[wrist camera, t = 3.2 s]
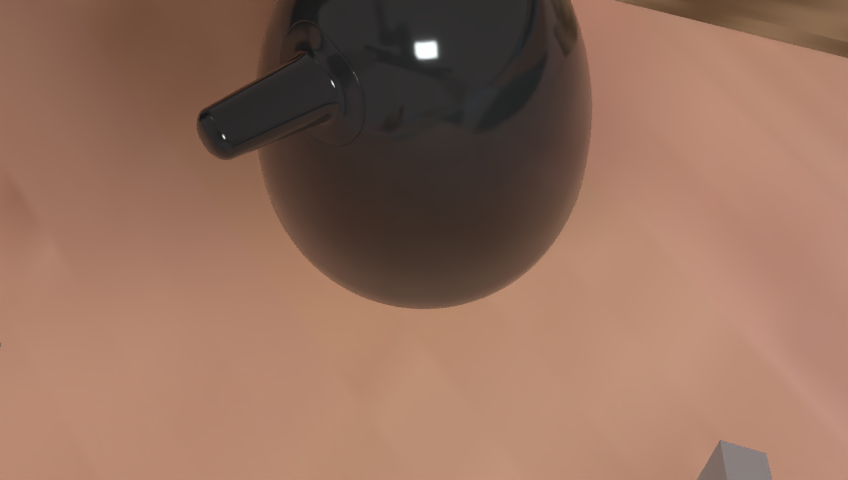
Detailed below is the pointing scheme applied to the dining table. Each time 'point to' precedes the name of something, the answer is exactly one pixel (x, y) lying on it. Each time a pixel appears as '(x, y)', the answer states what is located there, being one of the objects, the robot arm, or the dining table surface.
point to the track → (770, 19)
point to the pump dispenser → (416, 139)
